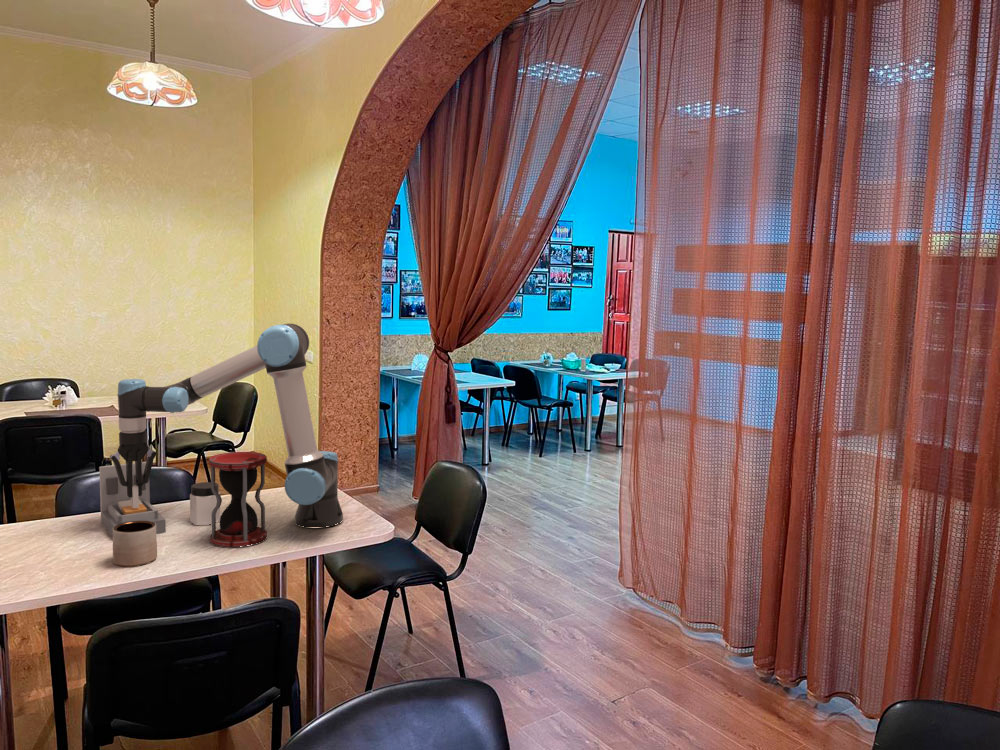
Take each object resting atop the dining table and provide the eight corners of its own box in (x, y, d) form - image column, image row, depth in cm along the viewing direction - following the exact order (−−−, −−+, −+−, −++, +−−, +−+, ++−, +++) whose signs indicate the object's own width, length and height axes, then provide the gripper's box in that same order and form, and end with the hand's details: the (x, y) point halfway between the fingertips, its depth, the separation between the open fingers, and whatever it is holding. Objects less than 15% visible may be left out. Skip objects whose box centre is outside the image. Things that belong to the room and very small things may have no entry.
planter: (107, 559, 207) (106, 525, 206) (148, 550, 215) (147, 517, 214) (121, 570, 200) (120, 535, 199) (163, 561, 207) (162, 527, 206)
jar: (186, 521, 242) (185, 484, 241) (211, 516, 248) (210, 480, 247) (199, 527, 236) (198, 490, 235) (224, 522, 242) (223, 485, 241)
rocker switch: (147, 514, 232) (147, 509, 232) (124, 517, 228) (124, 512, 228) (139, 504, 240) (139, 498, 239) (117, 507, 236) (117, 501, 236)
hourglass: (217, 551, 216) (216, 465, 213) (204, 535, 229) (203, 454, 226) (274, 542, 225) (273, 459, 222) (258, 527, 238) (257, 449, 235)
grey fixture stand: (165, 532, 231) (164, 474, 229) (115, 540, 222) (113, 480, 220) (148, 515, 247) (147, 461, 245) (101, 523, 238) (99, 466, 236)
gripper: (152, 426, 236) (154, 501, 238) (106, 430, 228) (108, 507, 230) (159, 430, 230) (161, 506, 232) (111, 434, 222) (114, 513, 224)
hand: (134, 507), depth 231 cm, fingers closed
